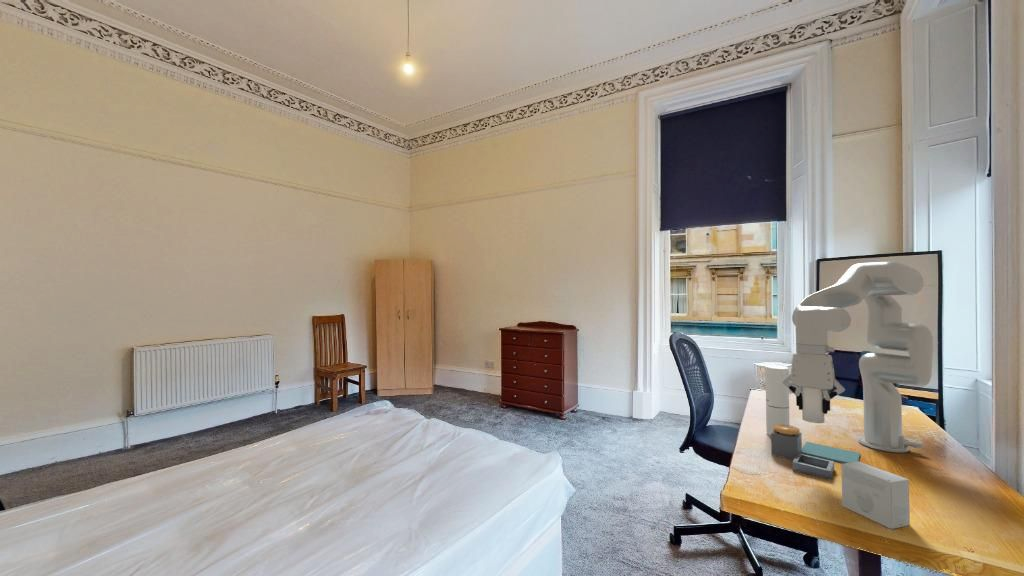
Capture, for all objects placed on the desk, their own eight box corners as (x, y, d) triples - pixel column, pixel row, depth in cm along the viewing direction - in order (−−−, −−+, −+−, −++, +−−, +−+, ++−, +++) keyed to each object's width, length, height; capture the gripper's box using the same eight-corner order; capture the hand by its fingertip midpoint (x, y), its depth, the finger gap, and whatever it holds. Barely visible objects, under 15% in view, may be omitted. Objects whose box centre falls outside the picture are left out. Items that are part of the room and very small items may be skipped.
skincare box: (911, 525, 89) (910, 478, 89) (892, 530, 87) (891, 482, 87) (859, 501, 99) (858, 459, 99) (840, 505, 97) (840, 463, 97)
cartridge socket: (834, 469, 116) (834, 461, 116) (830, 480, 110) (830, 471, 110) (798, 461, 123) (798, 453, 123) (792, 470, 116) (792, 461, 116)
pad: (860, 454, 127) (860, 452, 127) (857, 466, 118) (857, 464, 118) (806, 443, 137) (806, 441, 137) (800, 453, 128) (800, 451, 128)
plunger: (801, 443, 128) (801, 427, 128) (797, 449, 123) (797, 433, 123) (776, 437, 133) (776, 422, 133) (771, 443, 128) (771, 427, 128)
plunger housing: (801, 454, 128) (801, 432, 128) (797, 460, 123) (797, 438, 123) (776, 448, 133) (776, 427, 133) (771, 454, 128) (771, 432, 128)
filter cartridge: (825, 420, 117) (824, 383, 117) (823, 424, 113) (822, 386, 113) (804, 416, 120) (803, 380, 120) (801, 420, 117) (800, 383, 117)
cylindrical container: (782, 431, 149) (781, 365, 149) (794, 438, 141) (793, 369, 142) (762, 430, 149) (761, 365, 150) (773, 437, 142) (772, 368, 142)
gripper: (850, 351, 113) (852, 413, 113) (780, 345, 125) (781, 402, 125) (848, 354, 108) (849, 420, 108) (774, 348, 120) (776, 408, 120)
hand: (813, 410), depth 117 cm, fingers closed on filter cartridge, 5 cm apart
